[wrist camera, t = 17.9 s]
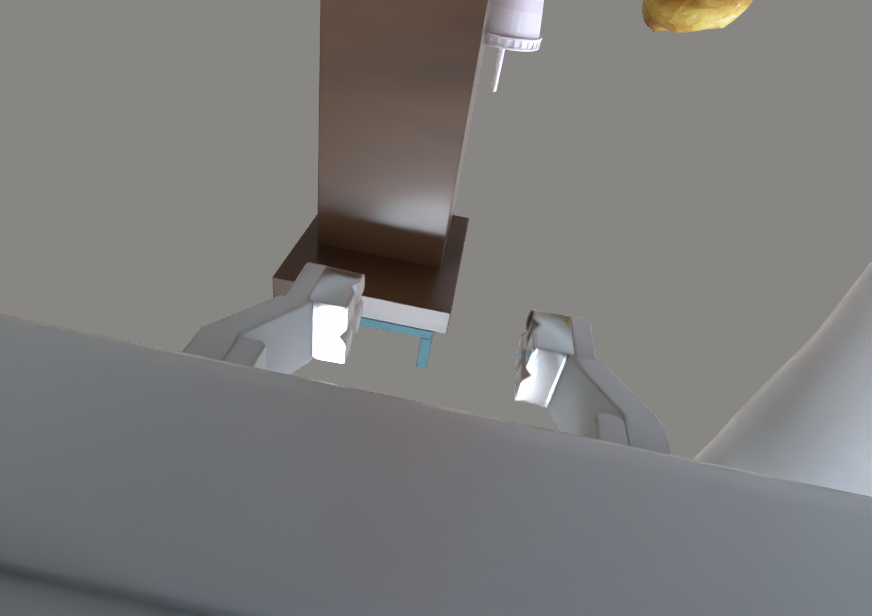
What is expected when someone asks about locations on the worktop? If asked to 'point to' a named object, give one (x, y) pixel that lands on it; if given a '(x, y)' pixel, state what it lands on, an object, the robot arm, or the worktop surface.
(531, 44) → the smoothie
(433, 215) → the stand
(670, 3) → the bread roll
